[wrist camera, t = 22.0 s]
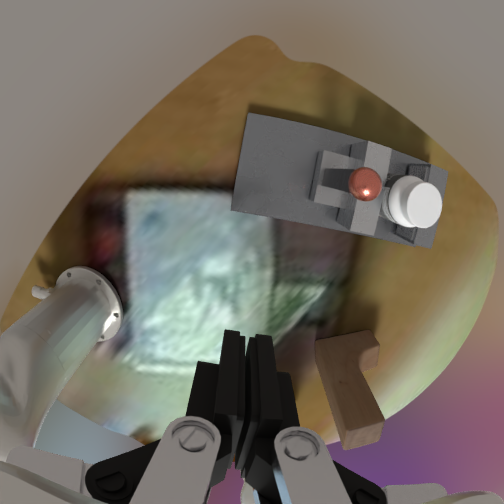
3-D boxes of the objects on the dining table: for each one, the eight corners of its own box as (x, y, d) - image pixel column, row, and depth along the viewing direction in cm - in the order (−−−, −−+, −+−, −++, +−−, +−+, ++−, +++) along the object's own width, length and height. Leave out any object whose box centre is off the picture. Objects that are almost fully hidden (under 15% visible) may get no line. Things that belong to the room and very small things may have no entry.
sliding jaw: (305, 215, 34) (340, 245, 21) (321, 135, 31) (365, 118, 19) (357, 226, 35) (412, 259, 22) (373, 150, 32) (436, 145, 19)
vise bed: (231, 209, 35) (227, 217, 29) (248, 114, 32) (248, 103, 26) (411, 244, 37) (434, 257, 31) (428, 164, 34) (454, 166, 28)
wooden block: (369, 328, 41) (422, 407, 24) (368, 350, 42) (413, 430, 25) (314, 339, 41) (346, 430, 24) (315, 361, 42) (343, 452, 25)
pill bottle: (401, 173, 33) (446, 177, 23) (402, 215, 35) (445, 231, 25) (363, 173, 33) (402, 176, 24) (365, 217, 35) (402, 235, 25)
